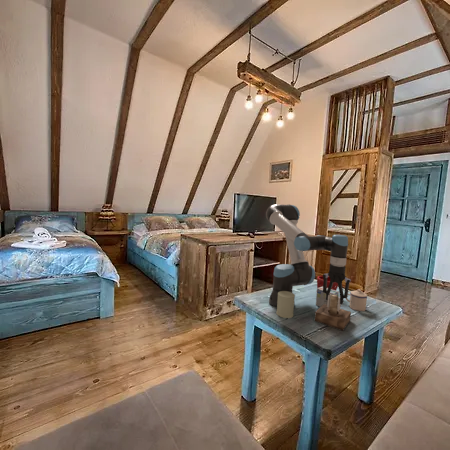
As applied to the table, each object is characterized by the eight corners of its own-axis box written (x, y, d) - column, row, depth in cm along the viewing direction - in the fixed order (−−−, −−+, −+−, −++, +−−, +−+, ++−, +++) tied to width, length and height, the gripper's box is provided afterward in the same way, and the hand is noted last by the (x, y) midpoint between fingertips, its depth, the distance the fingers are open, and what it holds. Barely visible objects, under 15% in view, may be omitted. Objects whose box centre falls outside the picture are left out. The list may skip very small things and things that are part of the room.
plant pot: (328, 300, 157) (329, 282, 156) (311, 293, 168) (313, 276, 167) (340, 297, 163) (342, 280, 162) (324, 290, 175) (325, 274, 173)
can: (282, 309, 142) (284, 288, 140) (296, 315, 135) (298, 294, 134) (272, 313, 136) (274, 292, 134) (287, 319, 129) (288, 297, 128)
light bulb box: (337, 308, 145) (339, 291, 144) (332, 311, 141) (334, 293, 140) (320, 302, 153) (322, 285, 152) (315, 305, 149) (316, 288, 148)
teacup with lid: (368, 309, 147) (370, 290, 146) (362, 313, 141) (364, 293, 140) (347, 302, 156) (349, 284, 155) (341, 305, 150) (343, 287, 149)
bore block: (314, 320, 129) (315, 311, 128) (323, 312, 140) (323, 303, 139) (343, 330, 120) (344, 321, 120) (350, 320, 131) (350, 311, 130)
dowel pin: (327, 317, 130) (330, 296, 128) (329, 315, 132) (332, 294, 131) (335, 320, 127) (337, 298, 126) (337, 317, 130) (339, 296, 129)
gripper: (318, 262, 129) (314, 305, 132) (354, 269, 118) (349, 315, 121) (322, 260, 135) (319, 301, 138) (358, 266, 124) (353, 311, 127)
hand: (333, 307), depth 129 cm, fingers open, 4 cm apart
